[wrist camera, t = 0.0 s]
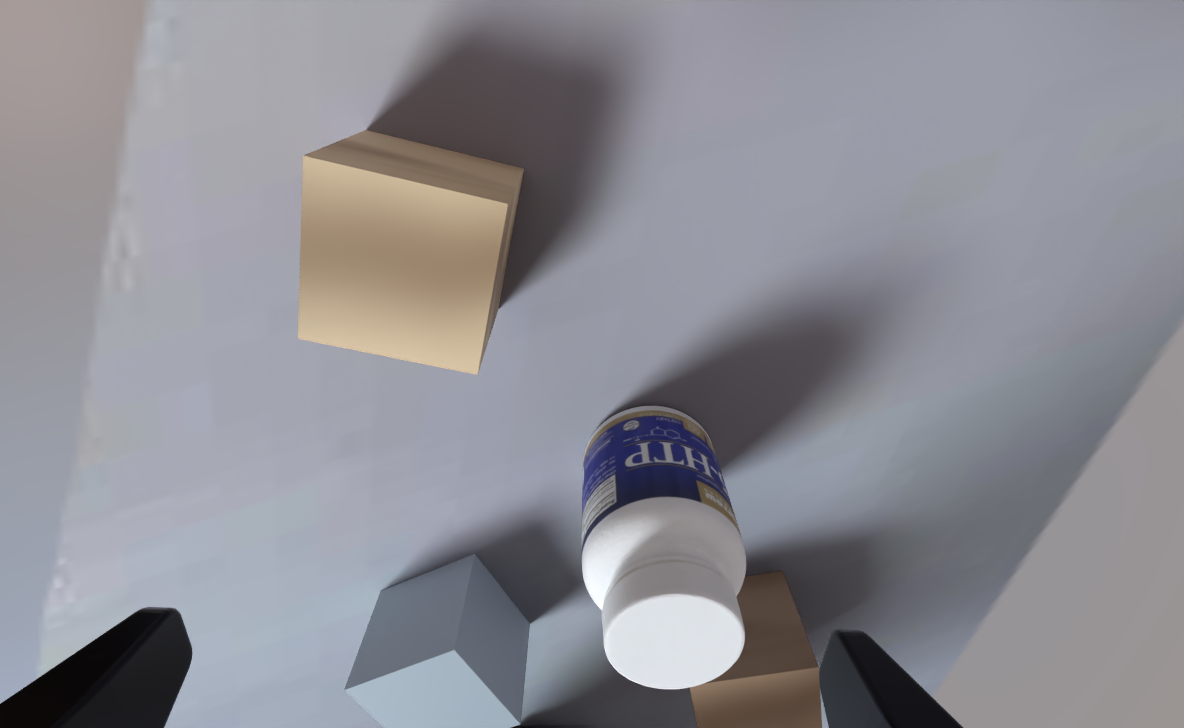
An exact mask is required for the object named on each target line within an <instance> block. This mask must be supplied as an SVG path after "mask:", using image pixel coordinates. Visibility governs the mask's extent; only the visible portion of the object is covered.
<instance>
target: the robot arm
mask: <svg viewBox="0 0 1184 728" xmlns="http://www.w3.org/2000/svg"><path fill="white" fill-rule="evenodd" d="M191 660H192V646H191V643H190V640H189V637H188V634H187V631H186V628H185V626H184V623H183V620H182V617H181V614H180V612H179V611H177V610H176V609H175V608H162V607H147V608H143V609H141V610H139V611H137V612H135V613H134V614H132V615H131V616H129V617H128V618H126V619H125V620H123V621H122V622H120V623H119V624H117V625H116V626H114V627H113V628H111V629H110V630H109V631H107V632H106V633H104V634H103V635H101V636H100V637H98V638H97V639H95V640H94V641H92V642H91V643H89V644H88V645H86V646H85V647H83V648H82V649H80V650H79V651H78V652H76V653H75V654H73V655H72V656H70V657H69V658H67V659H66V660H64V661H63V662H61V663H60V664H58V665H57V666H55V667H54V668H52V669H51V670H50V671H48V672H47V673H45V674H44V675H42V676H41V677H39V678H38V679H36V680H35V681H33V682H32V683H30V684H29V685H27V686H26V687H24V688H23V689H21V690H20V691H19V692H17V693H16V694H14V695H13V696H11V697H10V698H8V699H7V700H5V701H4V702H2V703H1V704H0V728H164V727H165V724H166V722H167V720H168V717H169V715H170V712H171V710H172V708H173V705H174V703H175V701H176V698H177V696H178V693H179V691H180V689H181V686H182V684H183V681H184V679H185V677H186V674H187V672H188V670H189V667H190V664H191ZM819 684H820V689H821V694H822V698H823V703H824V707H825V712H826V716H827V721H828V725H829V728H963V727H962V726H961V725H960V724H959V723H958V722H957V721H956V720H955V719H954V718H953V717H952V716H951V715H950V714H948V712H947V711H946V710H945V709H943V708H942V707H941V706H940V705H939V704H938V703H937V702H936V701H935V700H934V699H933V698H932V697H931V696H930V695H929V694H928V693H927V692H926V691H925V690H924V689H923V688H922V687H921V686H920V685H919V684H918V683H917V682H916V681H915V680H914V679H913V678H912V677H911V676H910V675H909V674H908V673H907V672H906V671H905V670H904V669H902V668H901V667H900V666H899V665H898V664H897V663H896V662H895V661H894V660H893V659H892V658H891V657H890V656H889V655H888V654H887V653H886V652H885V651H884V650H883V649H882V648H881V647H880V646H879V645H878V644H877V643H876V642H875V641H874V640H873V639H872V638H871V637H870V636H868V635H867V634H866V633H864V632H862V631H859V630H835V631H834V632H832V633H831V635H830V638H829V641H828V644H827V646H826V649H825V652H824V655H823V658H822V661H821V664H820V667H819Z"/></svg>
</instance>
